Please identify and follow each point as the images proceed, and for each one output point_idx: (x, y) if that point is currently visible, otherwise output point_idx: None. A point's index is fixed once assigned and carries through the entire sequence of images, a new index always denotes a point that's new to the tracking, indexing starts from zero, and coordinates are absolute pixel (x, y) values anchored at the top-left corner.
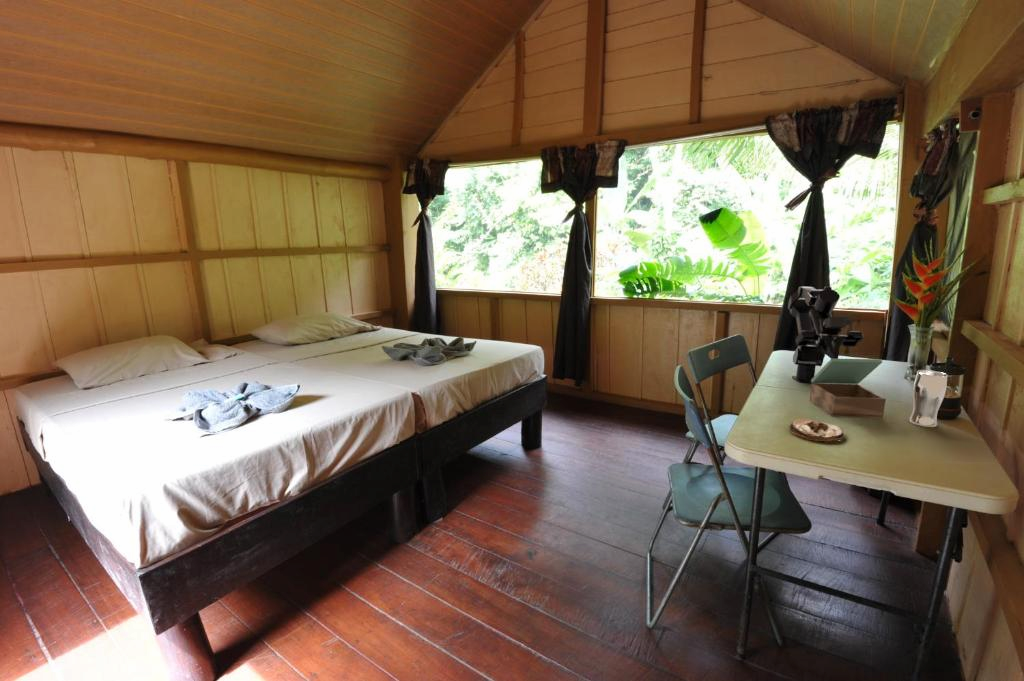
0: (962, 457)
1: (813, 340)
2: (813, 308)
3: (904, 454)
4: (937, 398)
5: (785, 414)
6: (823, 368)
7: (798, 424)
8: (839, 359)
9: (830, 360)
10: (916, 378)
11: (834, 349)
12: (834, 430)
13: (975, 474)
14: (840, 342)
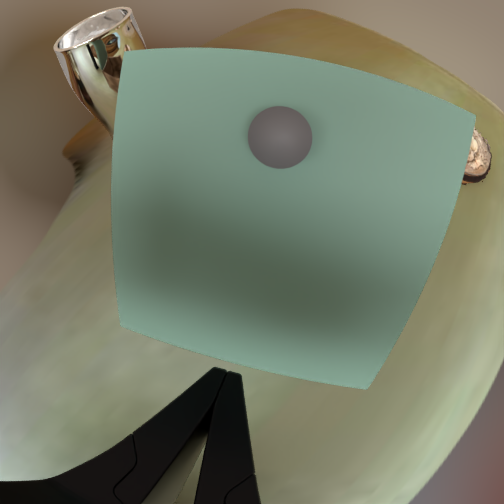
0: (247, 41)
1: None
2: None
3: (335, 57)
4: None
5: (474, 251)
6: (437, 241)
7: (475, 169)
8: (426, 93)
9: (470, 132)
10: (125, 44)
11: (168, 480)
12: None
13: (283, 22)
14: (35, 490)
